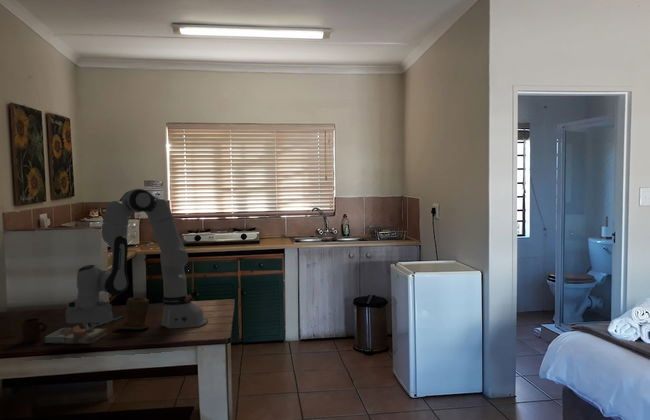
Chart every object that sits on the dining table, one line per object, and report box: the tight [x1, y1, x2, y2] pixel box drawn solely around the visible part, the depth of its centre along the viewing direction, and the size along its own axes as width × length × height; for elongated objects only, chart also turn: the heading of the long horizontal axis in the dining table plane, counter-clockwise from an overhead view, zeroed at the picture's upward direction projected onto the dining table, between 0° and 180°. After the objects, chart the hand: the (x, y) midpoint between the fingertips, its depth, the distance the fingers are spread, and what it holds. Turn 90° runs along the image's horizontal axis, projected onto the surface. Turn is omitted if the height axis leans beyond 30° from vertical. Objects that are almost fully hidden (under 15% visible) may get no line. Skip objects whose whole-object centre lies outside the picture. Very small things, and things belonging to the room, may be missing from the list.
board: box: [63, 328, 108, 344], centre depth 232 cm, size 13×14×2 cm
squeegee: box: [89, 315, 124, 328], centre depth 257 cm, size 29×2×10 cm
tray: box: [44, 327, 72, 344], centre depth 233 cm, size 8×14×3 cm, turn 177°
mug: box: [21, 317, 48, 344], centre depth 230 cm, size 12×8×9 cm, turn 76°
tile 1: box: [64, 324, 81, 337], centre depth 236 cm, size 5×5×2 cm
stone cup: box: [113, 297, 151, 331], centre depth 247 cm, size 15×12×15 cm
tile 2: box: [73, 328, 90, 337], centre depth 229 cm, size 5×5×2 cm
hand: (90, 332), depth 229 cm, fingers closed
